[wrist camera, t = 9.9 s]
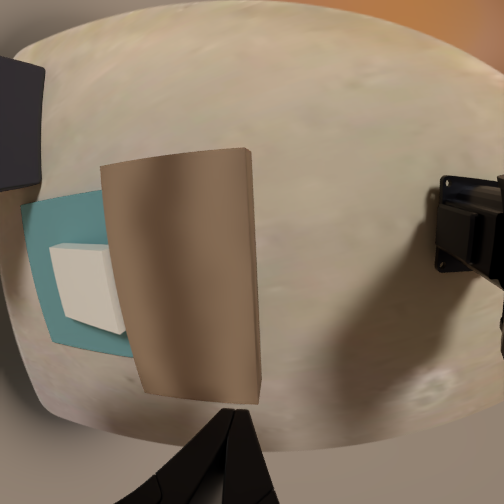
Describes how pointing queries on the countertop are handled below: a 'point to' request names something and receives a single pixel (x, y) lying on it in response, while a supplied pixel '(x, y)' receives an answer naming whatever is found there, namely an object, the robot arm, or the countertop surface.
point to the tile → (87, 285)
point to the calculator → (20, 123)
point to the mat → (38, 242)
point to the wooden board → (187, 272)
